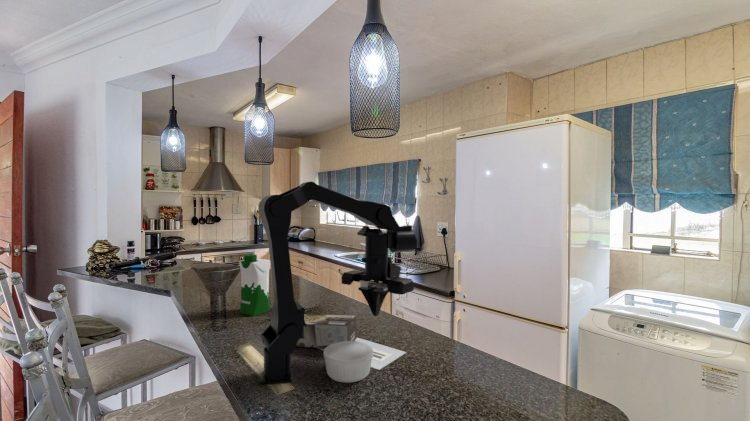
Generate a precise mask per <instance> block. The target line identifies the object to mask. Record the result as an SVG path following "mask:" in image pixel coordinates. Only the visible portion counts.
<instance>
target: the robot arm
mask: <svg viewBox="0 0 750 421" xmlns="http://www.w3.org/2000/svg"><path fill="white" fill-rule="evenodd" d="M311 201H312V202H314V203H317V204H320V205H322V206H326V207H328V208H332V209H335V210H338V211H340V212H343V213H346V214H350V215H351V216H353V217H355V219H357V220H358V221H360V222H362V223H364V224H365V225H363V227H362V228H361V229H359V231H357V233H356V234H357V236H362V237H365V239H364V242H365V243H364V244H365V246H364V248H365V249H364V250H365V252H364V257H361V262H362V263H364V270H357V269H354V270H349V271H344V272H343V273H342V275H341V283H340V284H342V285H349V286H350V285H352V284H353V283H354V282H357V283H360V284H359V285H360V286H359V287H358V291H360V292H361V295H363V297H364V299H365V301H366V302H367V305H368V307H369V309H370V311H371V314H372V316H373V317H377V316H379V314H380V311H381V309H382V305H383V304H384V301H385V299H386V296H387V295H388V294H389V293H390V294H395V295H399V296H400V295H405V294H407V293H411V292H412V291H415V290H414V286H415V283H414V281H413V280H412V278H410V277H409V278H407V277H402V276H401V277H400V275H401V269H402V267H401V266H400V265H398V264H395V263H392V257H391V256H389V251H390V252H392V253H404V252H405V253H406V252H413V251H415V249H416V247H417V245H418V239H417V237H416V234H415V232H414V231H413V226H412V225H399V223H398V222H397V220H396V218H395V217H394V215H393V211H392V208H391V206H390V205H388V204H387V203H383V202H378V201H377V202H376V201H371V200H370V201H368V200H364V199H363V200H361V199H358V198H355V197H352V196H350V195H347V194H345V193H341V192H339V191H336V190H333V189H330V188H329V187H326V186H322V185H319V184H318V183H316V182H315V181H305V182H302V183H300V184H299V185H297V186H295V187H293V188H292V189H289V190H286V191H285V192H282V193H280V194H270V195H269V194H268V195H266V196H264V197H263V198H262V199H261V200H260V201H259V203H258V209H257V210H258V213H259V217H260V220H261V223H262V226H263V228H264V231H265V233H266V237H267V244H268V252H269V260H270V263H271V265H270V270H271V279H272V280H271V281H272V287H273V288H272V289H273V291H272V292H273V302H272V303H273V304H272V307H271V315H270V317H271V318H270V324H269V325H268V326H267V327H266V328H265V330H263V331H262V333H261V334H260V338H261V341H262V343H263V345H264V346H265V347H264V348H263V371H262V374H261V376H260V380H259V384H260V385H262V384H263V385H264V384H280V383H282V384H283V383H290V382H293V381H292V380H293V375H294V368H295V367H294V366H293V365H292V354H294V352H295V350H296V347H297V346H296V344H297V341H298V340H299V339H300V338H301V336H303V333H304V326H305V327H306V326H307V325H306V323H305V320H304V314H306V312H305V310H306V309H305V307H304V306H303V305H302V304H301V303H299V302H298V301H297V300H296V301H295V295H294V286H293V284H294V283H293V277H292V276H293V275H292V266H291V265H292V264H291V256H290V246H289V245H290V243H289V231H290V228H291V223H292V212H293V211H296V210H298V209H299V208H301V207H302V206H304V205H305V204H307V203H308V202H311ZM369 226H372V227H375V228H370V227H369ZM384 230H385V231H386V232H385V231H384ZM391 278H392V279H391Z"/></svg>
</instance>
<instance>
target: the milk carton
mask: <svg viewBox="0 0 750 421" xmlns="http://www.w3.org/2000/svg"><path fill="white" fill-rule="evenodd" d="M243 258H244V259H242V260H239V261H238V264H239V269H240V274H241V275H240V283H241V284H240V307H239V313H241V314H244V315H247V316H252V317H255V316H258V315H263V314H265V313H269V312H270V311H271V309H270V308H271V306H270V270H271V263H270V259H264V258H258V255H257V254H253V253H252V254H245V255H243Z"/></svg>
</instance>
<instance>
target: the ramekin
mask: <svg viewBox="0 0 750 421" xmlns="http://www.w3.org/2000/svg"><path fill="white" fill-rule="evenodd" d="M322 353H323V354H322V355H323V359H324V363H325V371H326V374H327V375H328V377H330V379H331V380H333V381H335V382H338V383H356V382H359V381H362V380H364V379H365V378H366V377H368V375H369V374H370V373H371V372H370V371H371V362H372V357H373V349H372V347H371V346H369V345H367V344H365V343H362V342H356V341H344V342H338V343H334V344H331V345H329V346H328V347H326V348H325V349H324V351H323V352H322Z"/></svg>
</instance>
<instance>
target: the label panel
mask: <svg viewBox="0 0 750 421" xmlns="http://www.w3.org/2000/svg"><path fill="white" fill-rule="evenodd" d="M355 341H356V342H362V343H365V344H367V345H369V346H371V347H372V349H373V357H372V362H371V367H370V369H371V368H372V369H375V370H378V371H380V370H382V369H384V368H385V367H386V366H388V365H390V364H391V363H393V362H394V361H396V360H398V359H400V358H401V357H402V356H403V355H405V354H407V351H403V350H400V349H397V348H394V347H390V346H387V345H383V344H380V343H378V342H377V343H376V342H374V341H370V340H367V339H364V338H361V337H360V338H359V337H357V338H356V340H355ZM316 349H318V350H321V351H323V352H324V349H325V348H316Z"/></svg>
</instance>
